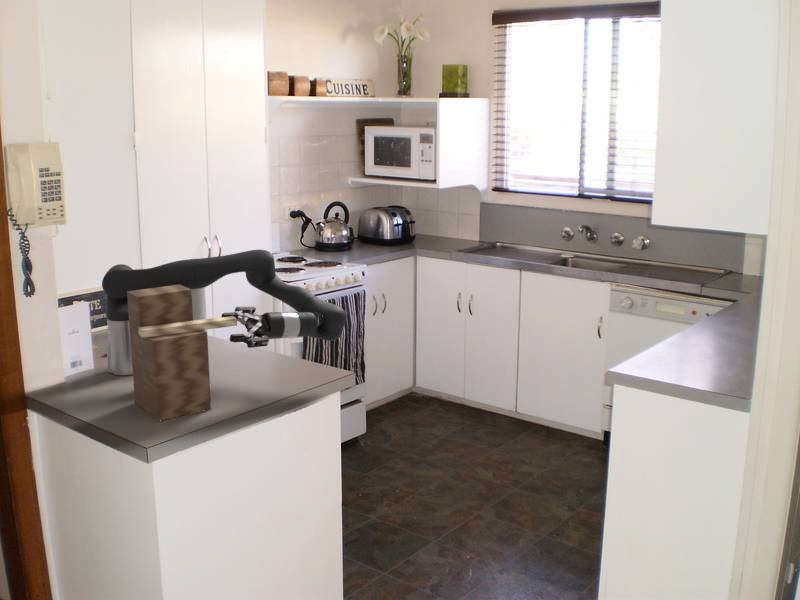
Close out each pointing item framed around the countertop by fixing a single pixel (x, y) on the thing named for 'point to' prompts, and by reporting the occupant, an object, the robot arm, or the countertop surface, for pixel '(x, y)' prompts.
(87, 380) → the countertop surface
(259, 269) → the robot arm
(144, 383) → the walnut step stand
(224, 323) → the maple slat
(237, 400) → the countertop surface
